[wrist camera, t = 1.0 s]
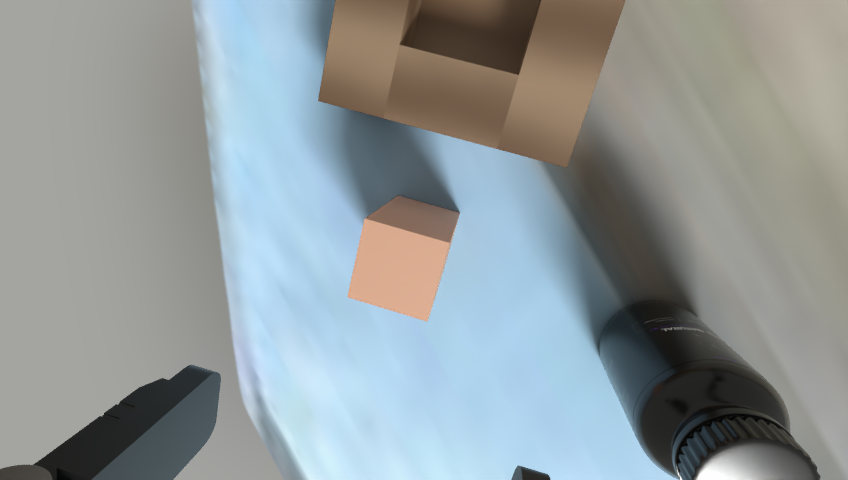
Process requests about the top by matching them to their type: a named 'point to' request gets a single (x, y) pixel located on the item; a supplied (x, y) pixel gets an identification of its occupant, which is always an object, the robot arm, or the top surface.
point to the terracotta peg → (403, 256)
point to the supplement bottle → (697, 399)
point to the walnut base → (473, 67)
